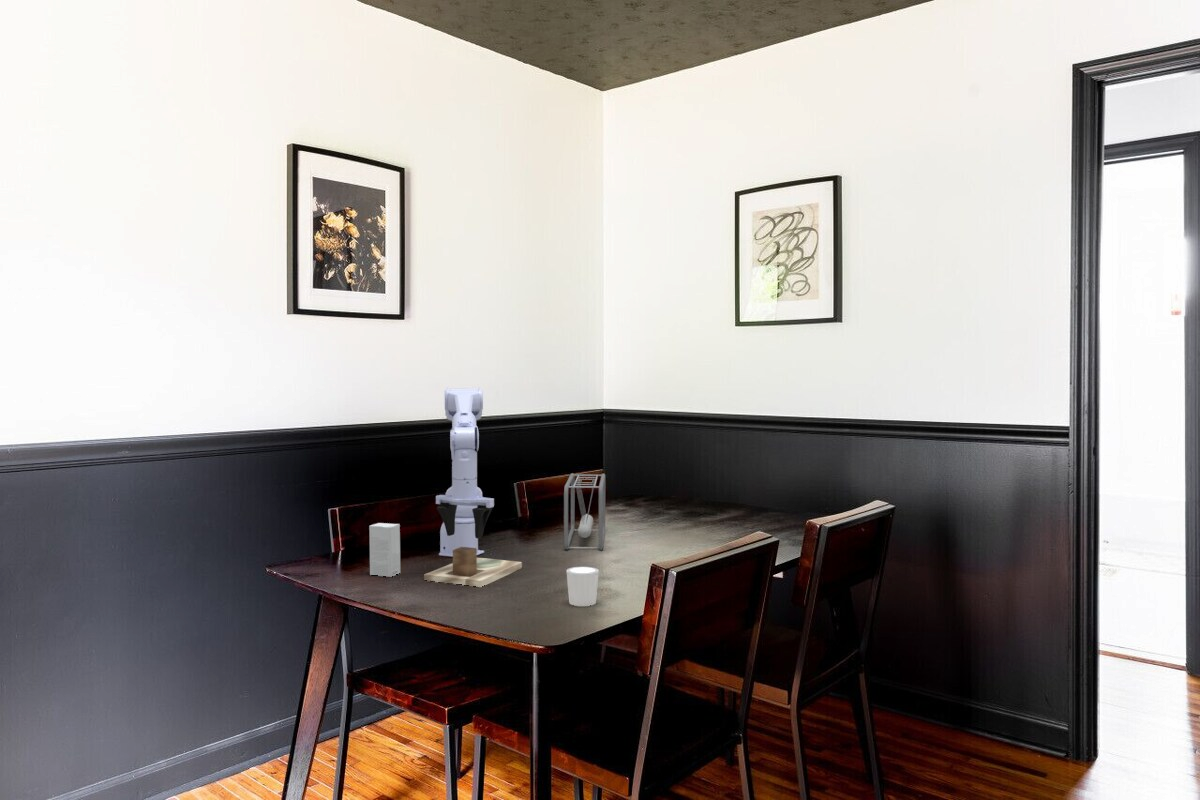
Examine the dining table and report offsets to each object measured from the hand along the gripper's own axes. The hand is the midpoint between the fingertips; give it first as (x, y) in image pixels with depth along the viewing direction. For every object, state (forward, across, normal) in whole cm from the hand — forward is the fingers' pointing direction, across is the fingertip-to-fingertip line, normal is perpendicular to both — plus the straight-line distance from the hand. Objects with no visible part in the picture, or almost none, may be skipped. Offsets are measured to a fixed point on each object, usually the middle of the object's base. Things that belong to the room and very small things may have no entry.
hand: (464, 536), depth 199 cm
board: (+10, 0, +4) cm, 11 cm away
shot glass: (+10, +34, -8) cm, 36 cm away
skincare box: (+10, -20, -4) cm, 22 cm away
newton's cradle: (+10, +9, +52) cm, 54 cm away
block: (+10, 0, 0) cm, 10 cm away
